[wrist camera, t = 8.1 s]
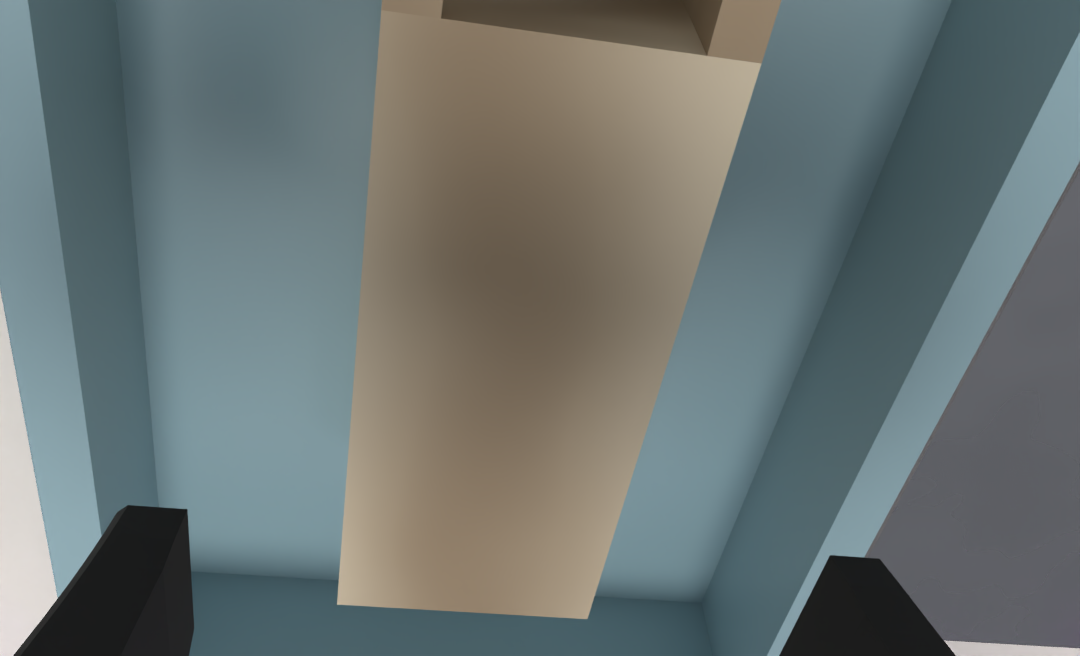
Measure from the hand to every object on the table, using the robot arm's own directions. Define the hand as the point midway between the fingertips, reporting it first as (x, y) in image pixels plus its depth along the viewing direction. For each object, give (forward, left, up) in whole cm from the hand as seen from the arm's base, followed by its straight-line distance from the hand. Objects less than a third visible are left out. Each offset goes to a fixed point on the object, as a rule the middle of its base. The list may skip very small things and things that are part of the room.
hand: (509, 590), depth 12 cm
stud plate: (-1, -17, -7) cm, 18 cm away
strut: (+2, 0, -6) cm, 7 cm away
